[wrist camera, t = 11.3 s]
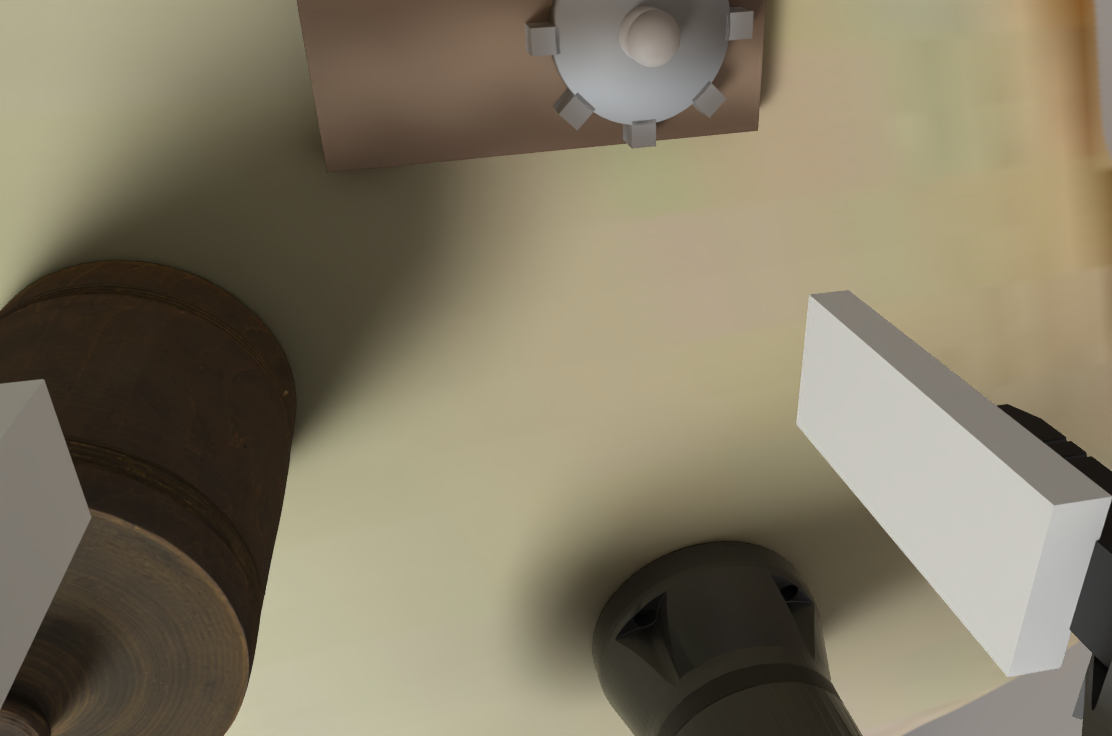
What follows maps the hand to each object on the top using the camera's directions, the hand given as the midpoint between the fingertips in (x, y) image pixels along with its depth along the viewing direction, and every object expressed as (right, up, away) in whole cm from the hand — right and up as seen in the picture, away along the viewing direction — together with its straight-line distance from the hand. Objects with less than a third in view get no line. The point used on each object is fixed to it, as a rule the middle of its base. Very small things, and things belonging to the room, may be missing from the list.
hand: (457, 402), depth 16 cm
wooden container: (-19, -1, +29) cm, 35 cm away
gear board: (0, +23, +20) cm, 30 cm away
